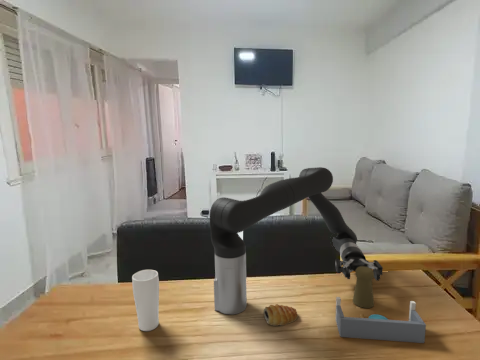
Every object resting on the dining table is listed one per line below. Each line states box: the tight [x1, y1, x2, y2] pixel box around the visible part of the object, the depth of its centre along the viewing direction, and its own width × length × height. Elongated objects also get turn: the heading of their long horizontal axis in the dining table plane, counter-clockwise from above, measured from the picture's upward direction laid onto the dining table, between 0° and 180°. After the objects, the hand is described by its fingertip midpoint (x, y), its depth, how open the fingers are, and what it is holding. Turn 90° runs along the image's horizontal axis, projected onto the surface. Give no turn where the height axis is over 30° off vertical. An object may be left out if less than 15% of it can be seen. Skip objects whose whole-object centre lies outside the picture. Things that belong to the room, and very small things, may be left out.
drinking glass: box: [131, 269, 160, 332], centre depth 81 cm, size 7×7×15 cm
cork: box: [352, 266, 375, 309], centre depth 91 cm, size 6×6×11 cm
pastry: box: [263, 303, 299, 327], centre depth 85 cm, size 9×7×4 cm
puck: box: [368, 313, 389, 320], centre depth 79 cm, size 5×5×3 cm
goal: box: [335, 296, 427, 344], centre depth 78 cm, size 20×7×7 cm, turn 82°
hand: (363, 277), depth 93 cm, fingers open, 8 cm apart
